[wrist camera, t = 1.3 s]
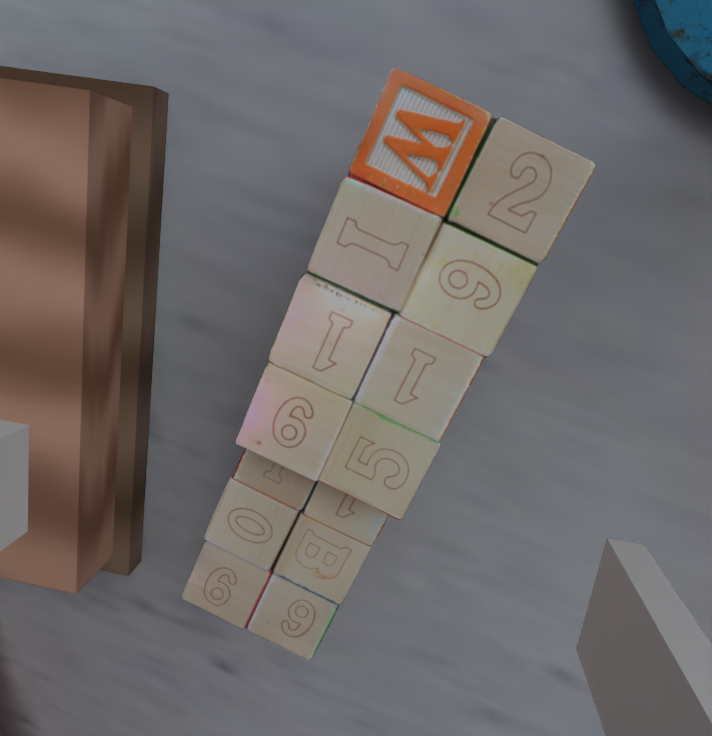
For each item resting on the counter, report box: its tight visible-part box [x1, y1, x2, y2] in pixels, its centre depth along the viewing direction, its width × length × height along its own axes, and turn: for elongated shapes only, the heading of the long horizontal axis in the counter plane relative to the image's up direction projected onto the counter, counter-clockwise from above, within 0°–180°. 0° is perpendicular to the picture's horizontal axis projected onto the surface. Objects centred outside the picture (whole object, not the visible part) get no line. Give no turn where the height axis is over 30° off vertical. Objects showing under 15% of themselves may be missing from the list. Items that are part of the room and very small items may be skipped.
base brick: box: [0, 66, 168, 594], centre depth 30 cm, size 26×11×5 cm, turn 172°
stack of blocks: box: [181, 68, 595, 660], centre depth 24 cm, size 21×6×12 cm, turn 155°
